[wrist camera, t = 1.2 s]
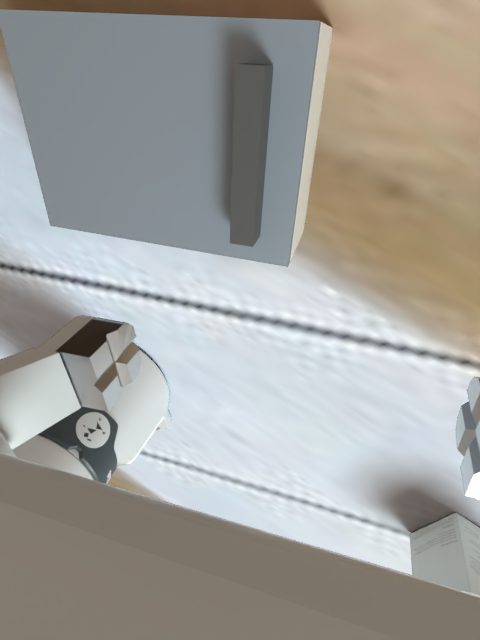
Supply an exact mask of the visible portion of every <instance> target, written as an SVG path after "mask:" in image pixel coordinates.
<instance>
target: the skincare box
mask: <svg viewBox="0 0 480 640" xmlns="http://www.w3.org/2000/svg"><path fill="white" fill-rule="evenodd" d="M410 545H411V561H412V575H413V576H416V577H420V578H423V579H426V580H430V581H433V582H436V583H440V584H443V585H447V586H450V587H453V588H457V589H460V590H463V591H467V592H470V593H473V594H477V595H480V528H479V527H478V526H476V525H475V524H473V523H472V522H470V521H469V520H467V519H466V518H464V517H462V516H461V515H459V514H458V513H453V514H451V515H449V516H447V517H445V518H443V519H441V520H439V521H437V522H434V523H432V524H430V525H428V526H426V527H424V528H421V529H419V530H417V531H415V532H413V533H411V534H410Z"/></svg>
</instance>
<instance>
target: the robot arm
mask: <svg viewBox="0 0 480 640" xmlns="http://www.w3.org/2000/svg"><path fill="white" fill-rule="evenodd" d="M135 337H136V334H135V331H134V327H133V326H132V325H130V324H129V323H125V322H120V321H114V320H108V319H103V318H96V317H90V316H84V315H82V316H77V317H76V318H74V319H73V320H72V321H71V322H69V323H68V324H67V325H66V326H65V327H63V328H62V329H61V330H60V331H59V332H57V333H56V334H55V335H54V336H52V337H51V338H50V339H49V340H48V341H46V342H45V343H44V344H43V345H42V346H40V347H39V348H38V349H37V348H31V349H28V350H26V351H23V352H20V353H17V354H15V355H12V356H9V357H6V358H4V359H1V360H0V640H480V595H477V594H473V593H470V592H467V591H463V590H460V589H457V588H453V587H450V586H447V585H443V584H440V583H436V582H433V581H430V580H426V579H423V578H420V577H416V576H413V575H410V574H406V573H403V572H400V571H396V570H393V569H390V568H386V567H383V566H380V565H376V564H373V563H370V562H366V561H363V560H359V559H356V558H353V557H349V556H346V555H343V554H339V553H336V552H333V551H329V550H326V549H323V548H319V547H316V546H313V545H309V544H306V543H302V542H299V541H296V540H292V539H289V538H286V537H282V536H279V535H276V534H272V533H269V532H266V531H262V530H259V529H256V528H252V527H249V526H245V525H242V524H239V523H235V522H232V521H229V520H225V519H222V518H219V517H215V516H212V515H209V514H205V513H202V512H199V511H195V510H192V509H189V508H185V507H182V506H179V505H175V504H172V503H168V502H165V501H162V500H158V499H155V498H152V497H148V496H145V495H142V494H138V493H135V492H132V491H128V490H125V489H122V488H118V487H115V486H112V485H108V484H107V483H108V482H109V480H110V478H111V476H112V474H113V472H114V471H115V469H116V467H117V466H122V465H126V464H130V463H132V462H133V461H134V460H135V458H136V457H137V456H138V454H139V453H140V451H141V450H142V449H143V447H144V446H145V444H146V443H147V441H148V440H149V439H150V437H151V436H152V434H153V433H154V432H156V431H161V430H165V429H167V428H168V427H169V426H170V424H171V416H170V414H169V411H168V403H169V388H168V385H167V382H166V380H165V377H164V376H163V374H162V372H161V371H160V369H159V368H158V367H157V365H156V364H155V363H154V362H153V361H152V360H151V359H150V358H149V357H148V356H147V355H146V354H144V353H143V352H142V351H140V349H139V348H138V347H137V346H136V345H135V344H134V343H133V341H134V339H135ZM467 393H468V398H469V402H467V403H465V404H463V405H462V406H461V408H460V411H459V414H458V417H457V424H456V443H457V449H458V450H459V451H460V452H461V454H462V455H463V456H464V459H463V461H462V464H461V466H460V469H461V475H462V481H463V487H464V493H465V496H469V497H473V498H477V499H480V377H473V379H472V380H471V381H470V384H469V386H468V389H467Z"/></svg>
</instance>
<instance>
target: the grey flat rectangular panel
mask: <svg viewBox="0 0 480 640" xmlns="http://www.w3.org/2000/svg"><path fill="white" fill-rule="evenodd" d="M0 26H1V30H2V34H3V38H4V42H5V46H6V50H7V54H8V58H9V62H10V66H11V70H12V74H13V78H14V82H15V86H16V90H17V94H18V98H19V102H20V106H21V110H22V114H23V118H24V122H25V126H26V130H27V134H28V138H29V142H30V146H31V150H32V154H33V158H34V162H35V166H36V170H37V174H38V178H39V182H40V186H41V190H42V194H43V198H44V202H45V206H46V210H47V214H48V218H49V222H50V226H56V227H61V228H67V229H73V230H79V231H84V232H90V233H96V234H102V235H107V236H113V237H119V238H125V239H130V240H136V241H142V242H148V243H154V244H159V245H165V246H171V247H177V248H182V249H188V250H194V251H200V252H205V253H211V254H217V255H223V256H229V257H234V258H240V259H246V260H252V261H257V262H263V263H269V264H275V265H280V266H286V267H288V265H289V263H290V258H291V250H292V242H293V235H294V227H295V219H296V212H297V204H298V196H299V189H300V181H301V173H302V165H303V158H304V150H305V142H306V135H307V127H308V119H309V112H310V104H311V96H312V88H313V81H314V73H315V65H316V58H317V50H318V42H319V34H320V27H321V21H319V20H290V19H262V18H233V17H205V16H176V15H148V14H119V13H91V12H62V11H34V10H5V9H0Z"/></svg>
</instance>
